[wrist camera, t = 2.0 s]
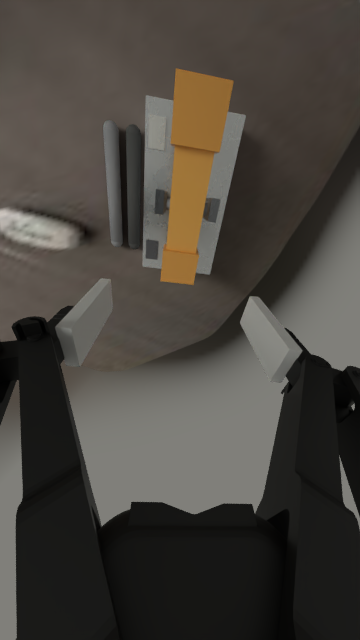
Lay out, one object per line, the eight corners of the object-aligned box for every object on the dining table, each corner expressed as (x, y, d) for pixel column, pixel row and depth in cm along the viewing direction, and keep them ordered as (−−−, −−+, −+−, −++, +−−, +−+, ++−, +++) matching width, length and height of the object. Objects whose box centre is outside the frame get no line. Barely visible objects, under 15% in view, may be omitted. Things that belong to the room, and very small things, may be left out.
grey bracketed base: (150, 109, 25) (134, 56, 15) (237, 125, 26) (270, 86, 16) (145, 259, 36) (135, 281, 26) (206, 267, 37) (216, 291, 27)
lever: (176, 80, 17) (176, 68, 15) (227, 90, 17) (233, 80, 15) (161, 273, 29) (160, 281, 27) (192, 276, 29) (193, 284, 27)
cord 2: (127, 125, 25) (124, 120, 24) (142, 128, 26) (139, 123, 24) (129, 246, 34) (127, 249, 33) (140, 248, 34) (138, 251, 33)
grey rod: (105, 121, 25) (100, 116, 24) (120, 124, 25) (116, 119, 24) (113, 244, 34) (109, 247, 32) (124, 246, 34) (121, 248, 32)
